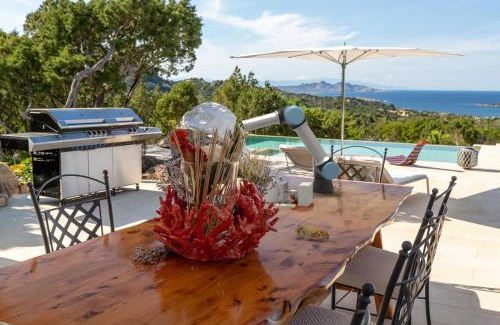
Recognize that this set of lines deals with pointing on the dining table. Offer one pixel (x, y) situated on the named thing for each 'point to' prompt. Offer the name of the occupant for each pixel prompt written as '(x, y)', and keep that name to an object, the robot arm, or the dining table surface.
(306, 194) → the gauge housing
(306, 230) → the crab model
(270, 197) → the candle holder
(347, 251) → the dining table surface
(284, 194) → the gauge plunger
